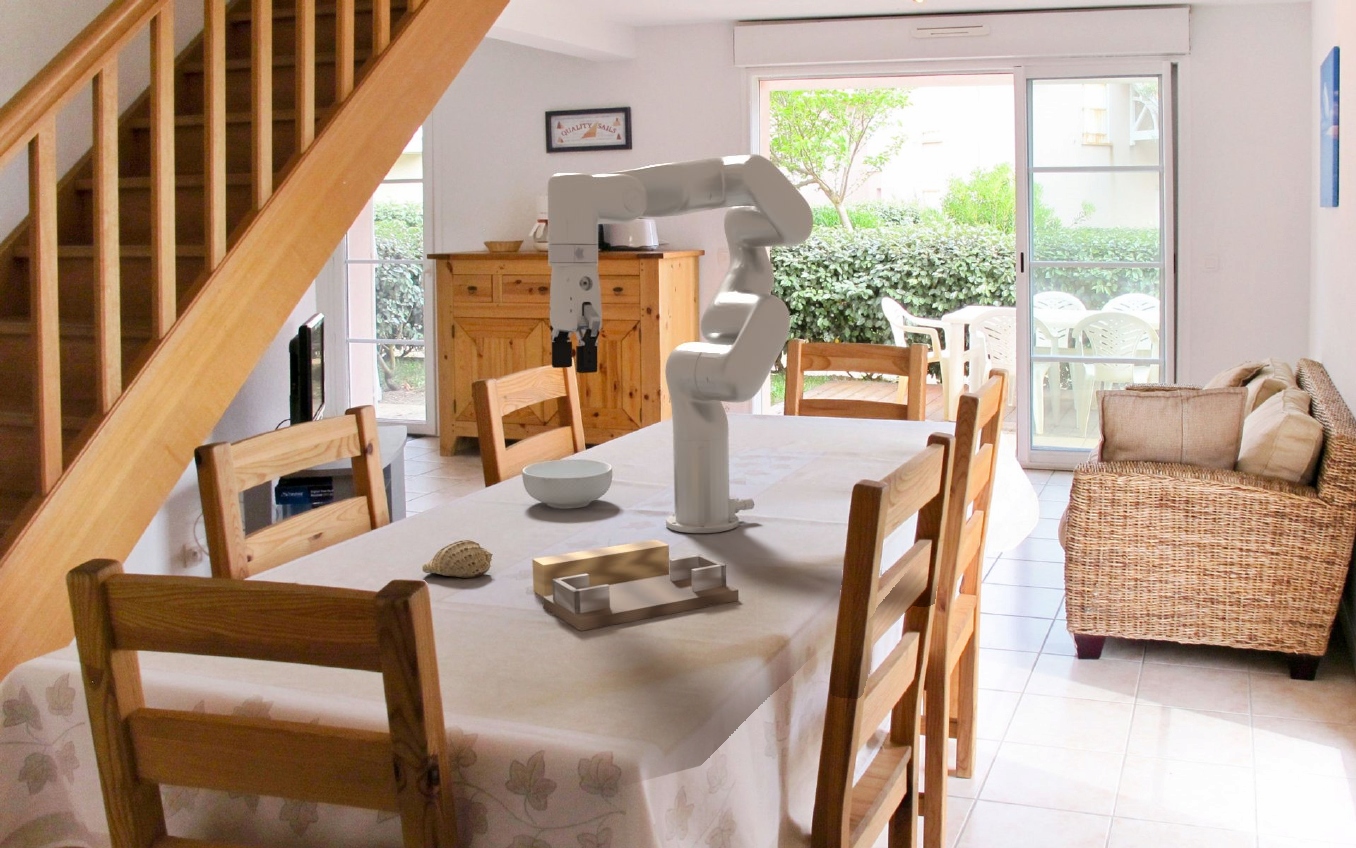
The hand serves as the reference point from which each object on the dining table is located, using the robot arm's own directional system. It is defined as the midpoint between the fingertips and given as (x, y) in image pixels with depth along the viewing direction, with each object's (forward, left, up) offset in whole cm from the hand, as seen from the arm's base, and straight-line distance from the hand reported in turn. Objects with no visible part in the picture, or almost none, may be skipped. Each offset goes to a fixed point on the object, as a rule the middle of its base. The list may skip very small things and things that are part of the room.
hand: (574, 369), depth 190 cm
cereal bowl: (-15, -37, -30) cm, 50 cm away
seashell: (+19, -2, -30) cm, 36 cm away
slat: (+3, +14, -30) cm, 33 cm away
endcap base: (+3, +26, -30) cm, 40 cm away
